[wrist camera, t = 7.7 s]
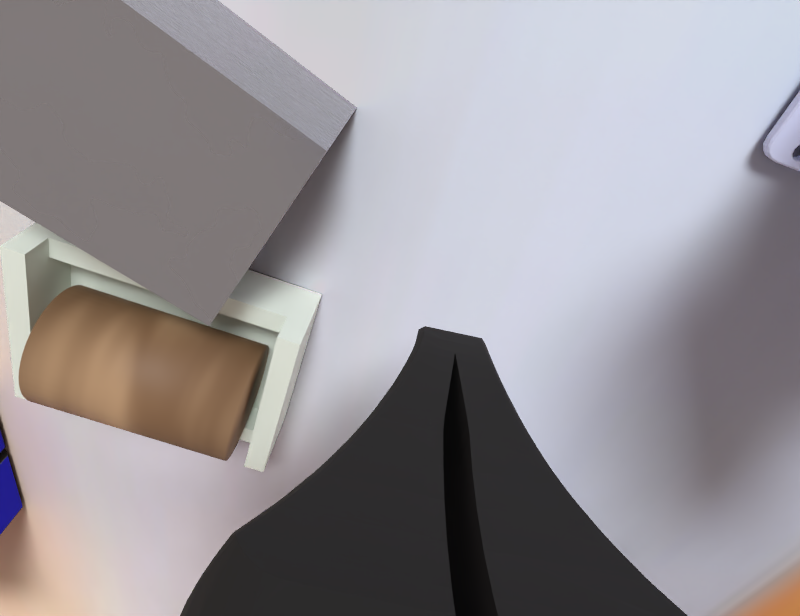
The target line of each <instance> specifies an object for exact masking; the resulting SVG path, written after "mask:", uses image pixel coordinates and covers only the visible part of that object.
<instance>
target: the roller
mask: <svg viewBox="0 0 800 616" xmlns="http://www.w3.org/2000/svg"><path fill="white" fill-rule="evenodd" d="M268 353H269V346H268V345H265V344H262V343H259V342H256V341H253V340H250V339H247V338H243V337H240V336H237V335H234V334H231V333H228V332H225V331H222V330H219V329H216V328H213V327H210V326H206V325H203V324H200V323H197V322H194V321H191V320H188V319H185V318H182V317H179V316H176V315H172V314H169V313H166V312H163V311H160V310H157V309H154V308H151V307H148V306H145V305H142V304H139V303H135V302H132V301H129V300H126V299H123V298H120V297H117V296H114V295H111V294H108V293H105V292H101V291H98V290H95V289H92V288H89V287H86V286H83V285H75V286H72V287H69V288H67V289H66V290H64V291H62V292H61V293H60V294H59V295H57V296H56V297H55V298H54V299H53V300H52V301H51V302H50V304H49V305H48V306H47V307H46V308H45V310H44V311H43V312H42V314H41V315H40V317H39V318H38V320H37V322H36V323H35V325H34V327H33V329H32V331H31V333H30V335H29V337H28V340H27V342H26V344H25V347H24V350H23V353H22V357H21V361H20V367H19V387H20V391H21V394H22V395H23V397H24V398H25V399H27V400H28V401H31V402H34V403H37V404H41V405H44V406H47V407H51V408H54V409H57V410H61V411H64V412H67V413H70V414H74V415H77V416H80V417H84V418H87V419H90V420H93V421H97V422H100V423H103V424H107V425H110V426H113V427H116V428H120V429H123V430H126V431H130V432H133V433H136V434H139V435H143V436H146V437H149V438H153V439H156V440H159V441H162V442H166V443H169V444H172V445H176V446H179V447H182V448H185V449H189V450H192V451H195V452H199V453H202V454H205V455H208V456H212V457H215V458H218V459H222V460H225V461H226V460H228V459H229V457H230V456H231V454H232V453H233V451H234V449H235V447H236V445H237V443H238V441H239V439H240V437H241V434H242V432H243V430H244V428H245V425H246V423H247V420H248V418H249V415H250V413H251V410H252V407H253V405H254V402H255V399H256V396H257V394H258V391H259V388H260V384H261V381H262V378H263V375H264V371H265V367H266V363H267V359H268Z"/></svg>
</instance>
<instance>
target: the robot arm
mask: <svg viewBox="0 0 800 616" xmlns="http://www.w3.org/2000/svg"><path fill="white" fill-rule="evenodd" d="M799 145H800V91H799V92H798V94H797V95H796V96H795V98H794V99H793V101H792V102H791V103H790V105H789V106H788V108H787V109H786V110H785V112H784V113H783V115H782V116H781V117H780V119H779V120H778V122H777V123H776V124H775V126H774V127H773V129H772V130H771V131H770V133H769V134H768V136H767V137H766V139H765V141H764V143H763V151H764V153H765V155H766V156H767V157H768V158H770V159H771V160H773V161H774V162H776V163H779V164H781V165H784V166H786V167H789V168H792V169H794V170H797V171H799V172H800V155H799V156H796V157H793V156H792V154H793V151H794V149H795V148H796V147H798V146H799ZM180 616H687V615H686V614H685V613H684V612H683V611H682V610H681V609H680V608H678V607H677V606H676V605H675V604H674V603H673V602H672V601H671V600H670V599H668V598H667V597H666V596H665V595H664V594H663V593H662V592H661V591H660V590H658V589H657V588H656V587H655V586H654V585H653V584H652V583H651V582H650V581H649V580H648V579H647V578H646V577H644V576H643V575H642V573H641V572H640V571H639V570H638V569H637V568H636V567H635V566H634V565H633V564H632V563H631V562H630V561H629V560H628V559H627V558H626V557H625V556H624V555H623V554H622V553H621V552H620V551H619V550H618V549H617V548H616V547H615V546H614V545H613V544H612V543H611V542H610V541H609V539H608V538H607V537H606V536H605V535H604V534H603V533H602V532H601V531H600V530H599V528H598V527H597V526H596V525H595V524H594V522H593V521H592V520H591V519H590V518H589V517H588V515H587V514H586V513H585V512H584V511H583V510H582V508H581V507H580V506H579V505H578V504H577V503H576V501H575V500H574V499H573V498H572V496H571V495H570V494H569V492H568V491H567V490H566V489H565V487H564V486H563V485H562V483H561V482H560V481H559V479H558V478H557V476H556V475H555V474H554V472H553V471H552V469H551V468H550V467H549V465H548V464H547V462H546V461H545V459H544V458H543V456H542V454H541V453H540V451H539V450H538V448H537V447H536V445H535V443H534V442H533V440H532V438H531V437H530V435H529V433H528V432H527V430H526V428H525V426H524V425H523V423H522V421H521V419H520V418H519V416H518V414H517V412H516V410H515V408H514V406H513V404H512V402H511V400H510V398H509V396H508V395H507V393H506V391H505V388H504V386H503V384H502V382H501V380H500V378H499V376H498V373H497V371H496V369H495V367H494V364H493V362H492V360H491V357H490V355H489V352H488V350H487V347H486V345H485V343H484V341H483V340H482V338H478V337H473V336H468V335H463V334H459V333H454V332H449V331H445V330H440V329H435V328H430V327H426V326H425V327H423V328H421V329H419V331H418V335H417V339H416V343H415V346H414V348H413V350H412V352H411V354H410V356H409V358H408V360H407V362H406V364H405V366H404V367H403V369H402V371H401V372H400V374H399V375H398V377H397V379H396V380H395V382H394V383H393V385H392V386H391V388H390V389H389V391H388V392H387V393H386V395H385V396H384V397H383V399H382V400H381V401H380V403H379V404H378V406H377V407H376V408H375V410H374V411H373V412H372V413H371V415H370V416H369V417H368V418H367V419H366V421H365V422H364V423H363V424H362V425H361V426H360V427H359V429H358V430H357V431H356V432H355V433H354V434H353V435H352V436H351V437H350V438H349V439H348V441H347V442H346V443H345V444H344V445H343V446H342V447H341V448H339V449H338V450H337V451H336V452H335V453H334V454H333V455H332V456H331V457H330V458H329V459H328V460H327V461H326V462H325V463H324V464H323V465H322V466H321V467H320V468H319V469H317V470H316V471H315V472H314V473H313V474H312V475H310V476H309V477H308V478H307V479H305V480H304V481H303V482H302V483H301V484H299V485H298V486H297V487H296V488H294V489H293V490H292V491H291V492H290V493H288V494H287V495H286V496H285V497H283V498H282V499H281V500H279V501H278V502H277V503H275V504H274V505H273V506H271V507H270V508H268V509H267V510H265V511H264V512H263V513H261V514H260V515H258V516H257V517H255V518H254V519H252V520H251V521H250V522H248V523H247V524H245V525H244V526H242V527H241V528H239V529H238V530H236V531H235V532H234V533H233V534H232V535H231V536H230V537H229V539H228V540H227V541H226V542H225V544H224V545H223V546H222V548H221V549H220V550H219V552H218V553H217V554H216V556H215V557H214V558H213V560H212V561H211V563H210V564H209V566H208V567H207V568H206V570H205V571H204V573H203V574H202V576H201V578H200V579H199V581H198V582H197V584H196V586H195V588H194V589H193V591H192V593H191V595H190V596H189V598H188V600H187V602H186V604H185V606H184V608H183V611H182V613H181V615H180Z"/></svg>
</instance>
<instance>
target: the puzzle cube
mask: <svg viewBox="0 0 800 616" xmlns="http://www.w3.org/2000/svg"><path fill="white" fill-rule="evenodd" d="M4 448H5V443H4V440H3V436H2V433H1V429H0V534H1V533H2V532H3V531H4V529H5V528H6V527H7V526H8V524H9V523H10V522H11V521H12V519H13V518H14V517H15V516H16V514H17V513H18V512H19V511H20V509H21V508H22V507H23V506H22V502H21V499H20V495H19V492H18V489H17V485H16V482H15V478H14V475H13V471H12V468H11V465H10V461H9V458H8V454H7V451H6V450H5V449H4Z"/></svg>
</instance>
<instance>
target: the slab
mask: <svg viewBox="0 0 800 616" xmlns="http://www.w3.org/2000/svg"><path fill="white" fill-rule="evenodd" d="M356 108H357V107H356V106H354V105H353V104H352V103H350V102H349V101H348V100H346V99H345V98H344V97H343V96H341V95H340V94H339V93H337V92H336V91H335V90H333V89H332V88H331V87H330V86H328V85H327V84H326V83H324V82H323V81H322V80H320V79H319V78H318V77H317V76H315V75H314V74H313V73H311V72H310V71H309V70H307V69H306V68H305V67H304V66H302V65H301V64H300V63H298V62H297V61H296V60H294V59H293V58H292V57H291V56H289V55H288V54H287V53H285V52H284V51H283V50H282V49H280V48H279V47H278V46H276V45H275V44H274V43H272V42H271V41H270V40H269V39H267V38H266V37H265V36H263V35H262V34H261V33H259V32H258V31H257V30H256V29H254V28H253V27H252V26H250V25H249V24H248V23H246V22H245V21H244V20H243V19H241V18H240V17H239V16H237V15H236V14H235V13H233V12H232V11H231V10H230V9H228V8H227V7H226V6H224V5H223V4H222V3H221V2H219V1H218V0H0V201H1V202H3V203H5V204H6V205H8V206H10V207H11V208H13V209H15V210H16V211H18V212H20V213H21V214H23V215H25V216H26V217H28V218H30V219H31V220H33V221H35V222H36V223H38V224H40V225H41V226H43V227H45V228H46V229H48V230H50V231H51V232H53V233H55V234H56V235H58V236H60V237H61V238H63V239H65V240H66V241H68V242H70V243H71V244H73V245H75V246H76V247H78V248H80V249H81V250H83V251H85V252H86V253H88V254H90V255H91V256H93V257H95V258H96V259H98V260H100V261H101V262H103V263H105V264H106V265H108V266H110V267H111V268H113V269H115V270H116V271H118V272H120V273H121V274H123V275H125V276H126V277H128V278H130V279H131V280H133V281H135V282H136V283H138V284H140V285H141V286H143V287H145V288H146V289H148V290H150V291H151V292H153V293H155V294H156V295H158V296H160V297H161V298H163V299H165V300H166V301H168V302H170V303H171V304H173V305H175V306H176V307H178V308H180V309H181V310H183V311H185V312H186V313H188V314H190V315H191V316H193V317H195V318H196V319H198V320H200V321H201V322H203V323H205V324H206V325H208V326H210V324H211V323H212V322H213V320H214V319H215V317H216V316H217V314H218V313H219V311H220V310H221V308H222V307H223V305H224V304H225V302H226V301H227V299H228V298H229V297H230V295H231V294H232V292H233V291H234V289H235V288H236V286H237V285H238V283H239V282H240V280H241V279H242V277H243V276H244V275H245V273H246V272H247V270H248V269H249V267H250V266H251V264H252V263H253V261H254V260H255V258H256V257H257V255H258V254H259V252H260V251H261V249H262V248H263V246H264V245H265V243H266V242H267V241H268V239H269V238H270V236H271V235H272V233H273V232H274V230H275V229H276V227H277V226H278V224H279V223H280V221H281V220H282V218H283V217H284V215H285V214H286V212H287V211H288V209H289V208H290V206H291V205H292V203H293V202H294V200H295V199H296V197H297V196H298V194H299V193H300V191H301V190H302V188H303V187H304V186H305V184H306V183H307V181H308V180H309V178H310V177H311V175H312V174H313V172H314V171H315V169H316V168H317V166H318V165H319V163H320V162H321V160H322V159H323V157H324V156H325V154H326V153H327V151H328V150H329V148H330V147H331V145H332V144H333V142H334V141H335V139H336V138H337V136H338V135H339V133H340V132H341V131H342V129H343V128H344V126H345V125H346V123H347V122H348V120H349V119H350V117H351V116H352V114H353V113H354V111H355V110H356Z"/></svg>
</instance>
